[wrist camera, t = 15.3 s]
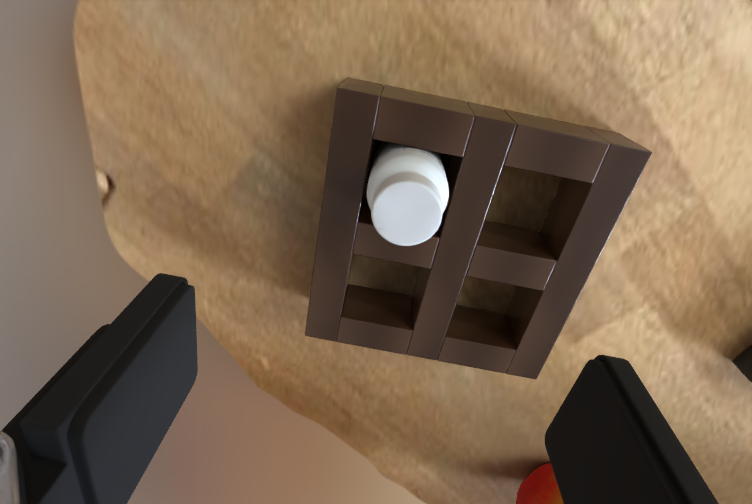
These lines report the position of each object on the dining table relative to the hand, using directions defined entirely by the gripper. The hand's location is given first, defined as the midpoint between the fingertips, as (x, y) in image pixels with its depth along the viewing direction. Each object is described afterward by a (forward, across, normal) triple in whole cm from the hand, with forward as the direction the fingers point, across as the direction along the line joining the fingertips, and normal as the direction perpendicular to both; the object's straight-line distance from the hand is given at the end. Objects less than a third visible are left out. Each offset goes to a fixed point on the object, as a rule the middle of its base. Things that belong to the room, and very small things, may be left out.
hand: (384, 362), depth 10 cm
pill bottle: (+19, -1, +1) cm, 19 cm away
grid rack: (+19, -5, +5) cm, 20 cm away
